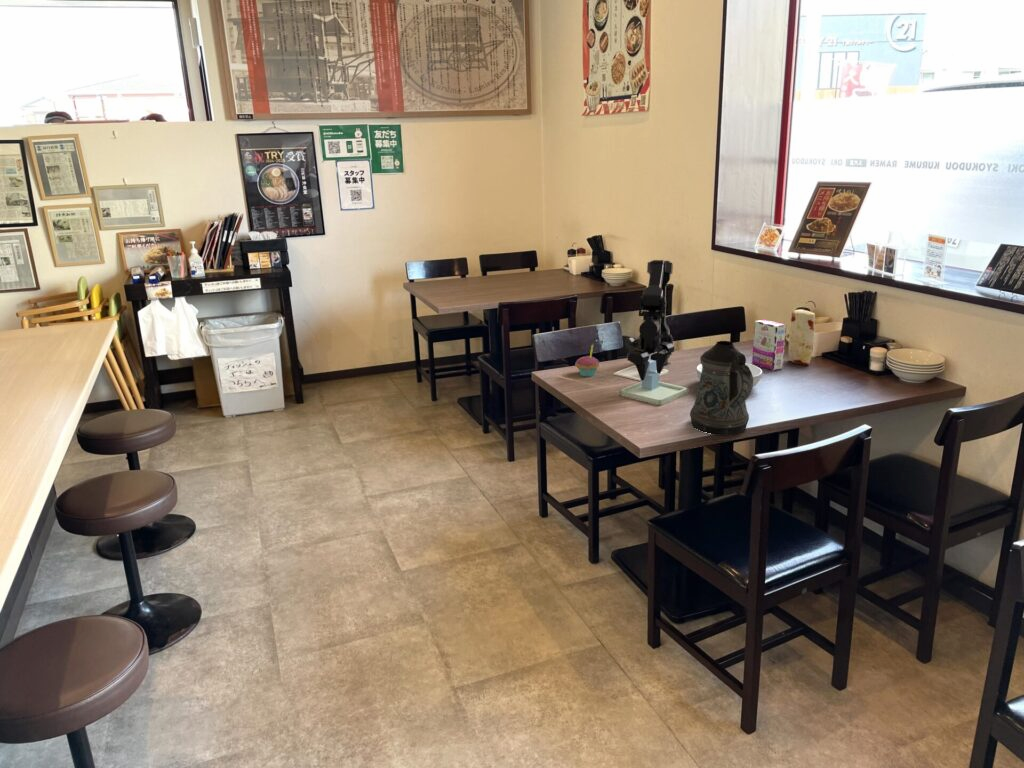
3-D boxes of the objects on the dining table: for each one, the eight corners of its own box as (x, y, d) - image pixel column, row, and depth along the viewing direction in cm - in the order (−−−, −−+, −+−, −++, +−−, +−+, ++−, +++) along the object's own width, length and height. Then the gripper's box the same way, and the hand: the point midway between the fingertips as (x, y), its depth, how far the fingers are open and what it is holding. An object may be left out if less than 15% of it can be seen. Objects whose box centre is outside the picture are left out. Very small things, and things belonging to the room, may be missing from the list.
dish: (638, 366, 276) (638, 363, 276) (668, 373, 267) (668, 370, 267) (613, 376, 266) (613, 373, 266) (643, 383, 257) (643, 380, 257)
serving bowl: (764, 399, 238) (765, 379, 236) (696, 397, 242) (697, 377, 240) (757, 379, 257) (758, 360, 255) (694, 378, 261) (695, 359, 259)
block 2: (648, 385, 253) (649, 370, 251) (658, 387, 250) (658, 373, 249) (641, 387, 250) (641, 373, 249) (651, 390, 248) (651, 375, 246)
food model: (782, 362, 276) (787, 308, 270) (794, 358, 280) (799, 306, 274) (805, 367, 268) (810, 313, 262) (817, 364, 272) (822, 310, 266)
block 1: (646, 372, 267) (647, 359, 266) (656, 374, 265) (656, 361, 263) (640, 375, 265) (640, 361, 263) (649, 377, 262) (649, 363, 260)
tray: (647, 383, 257) (648, 378, 256) (688, 393, 246) (688, 388, 245) (619, 395, 246) (619, 390, 246) (659, 405, 235) (660, 400, 235)
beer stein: (705, 411, 229) (709, 332, 221) (767, 424, 217) (773, 341, 209) (679, 427, 217) (682, 344, 209) (743, 442, 205) (749, 354, 197)
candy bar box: (783, 369, 268) (787, 324, 263) (773, 371, 266) (776, 326, 261) (761, 362, 277) (764, 318, 272) (751, 364, 275) (754, 320, 270)
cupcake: (599, 372, 271) (599, 340, 268) (599, 379, 263) (599, 346, 260) (575, 372, 272) (575, 340, 269) (575, 379, 264) (574, 346, 261)
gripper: (648, 322, 256) (647, 366, 261) (614, 333, 243) (613, 378, 248) (675, 327, 248) (674, 372, 253) (642, 338, 236) (641, 385, 241)
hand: (650, 376), depth 249 cm, fingers open, 9 cm apart
